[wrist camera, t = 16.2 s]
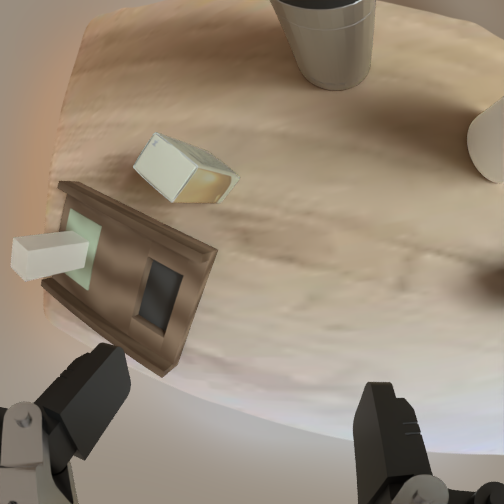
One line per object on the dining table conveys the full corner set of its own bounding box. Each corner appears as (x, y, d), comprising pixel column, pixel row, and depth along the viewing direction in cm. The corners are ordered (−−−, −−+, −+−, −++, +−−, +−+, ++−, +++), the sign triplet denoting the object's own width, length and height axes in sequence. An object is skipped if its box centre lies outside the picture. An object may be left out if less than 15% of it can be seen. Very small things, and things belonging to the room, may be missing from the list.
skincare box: (187, 176, 40) (129, 165, 29) (206, 149, 39) (152, 128, 27) (222, 206, 39) (170, 205, 28) (243, 178, 38) (198, 165, 26)
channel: (78, 181, 46) (59, 180, 42) (218, 249, 40) (202, 254, 36) (58, 281, 51) (41, 285, 46) (177, 364, 44) (162, 377, 40)
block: (72, 230, 45) (13, 237, 34) (89, 241, 44) (28, 251, 33) (67, 255, 46) (10, 266, 35) (84, 267, 45) (25, 281, 34)
